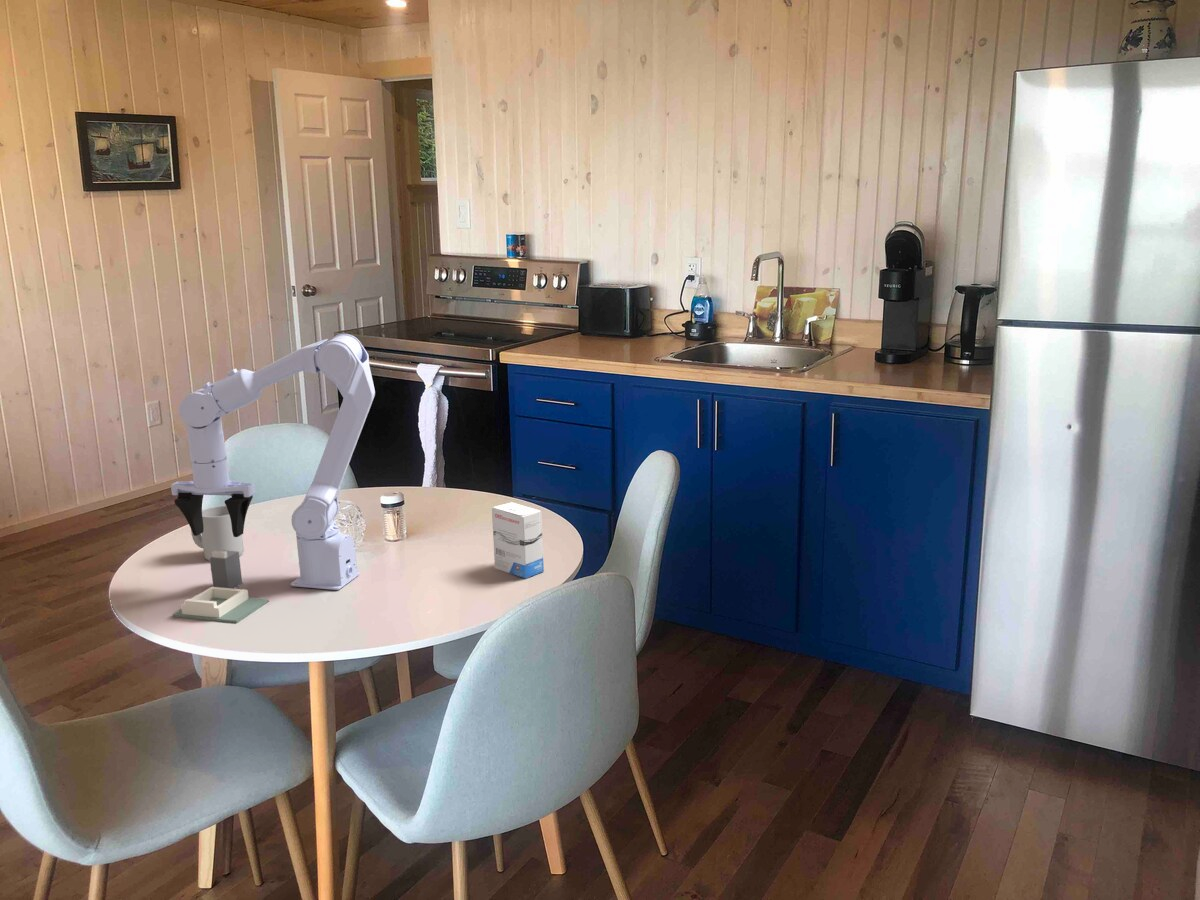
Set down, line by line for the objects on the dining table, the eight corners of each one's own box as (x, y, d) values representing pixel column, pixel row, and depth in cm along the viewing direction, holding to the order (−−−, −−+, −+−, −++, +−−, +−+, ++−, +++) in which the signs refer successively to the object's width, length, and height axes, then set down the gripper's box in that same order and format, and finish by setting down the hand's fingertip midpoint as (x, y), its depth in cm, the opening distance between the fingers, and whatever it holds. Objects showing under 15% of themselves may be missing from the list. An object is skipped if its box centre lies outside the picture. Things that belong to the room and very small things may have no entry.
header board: (268, 601, 164) (267, 585, 163) (236, 623, 156) (234, 606, 155) (207, 595, 167) (205, 580, 166) (172, 616, 159) (170, 600, 158)
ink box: (545, 571, 175) (543, 509, 172) (525, 579, 172) (522, 516, 169) (513, 561, 181) (511, 500, 178) (493, 568, 177) (490, 506, 174)
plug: (242, 583, 173) (238, 546, 171) (228, 591, 169) (224, 553, 167) (227, 582, 173) (223, 545, 172) (213, 590, 170) (209, 552, 168)
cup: (230, 563, 183) (225, 518, 181) (183, 560, 185) (177, 515, 183) (251, 550, 190) (246, 506, 187) (205, 547, 192) (200, 504, 189)
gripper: (259, 454, 169) (268, 528, 172) (183, 453, 171) (193, 526, 175) (238, 464, 162) (247, 541, 166) (159, 463, 165) (170, 539, 168)
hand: (218, 534), depth 170 cm, fingers open, 7 cm apart
